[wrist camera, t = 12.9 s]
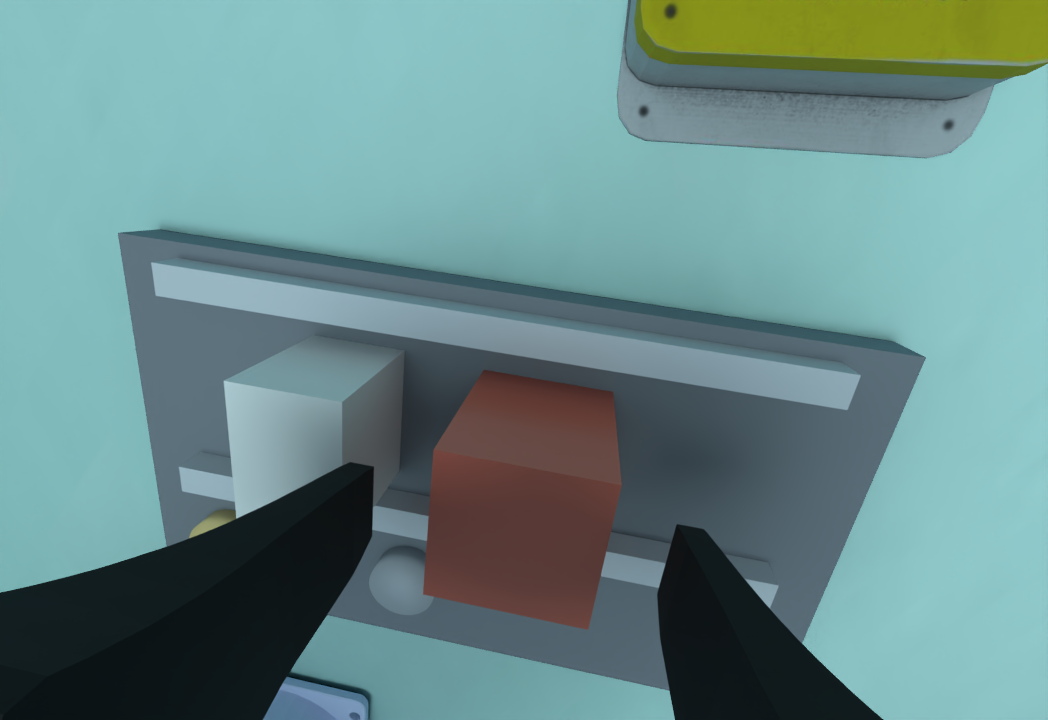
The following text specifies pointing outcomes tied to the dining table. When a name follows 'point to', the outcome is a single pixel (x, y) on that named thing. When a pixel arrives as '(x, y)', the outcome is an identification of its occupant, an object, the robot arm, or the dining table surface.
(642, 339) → the panel
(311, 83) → the dining table surface
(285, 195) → the dining table surface
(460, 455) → the block
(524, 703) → the dining table surface
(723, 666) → the robot arm
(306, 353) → the lever
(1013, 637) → the dining table surface
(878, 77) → the emergency button
